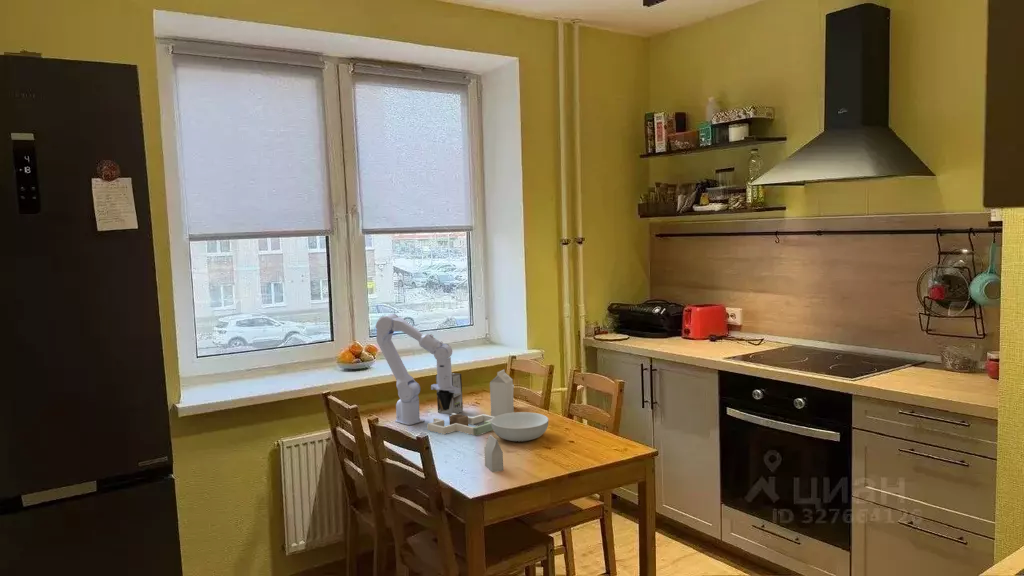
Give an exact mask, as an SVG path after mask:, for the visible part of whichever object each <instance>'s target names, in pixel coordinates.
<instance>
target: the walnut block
mask: <svg viewBox="0 0 1024 576" xmlns="http://www.w3.org/2000/svg"><path fill="white" fill-rule="evenodd" d="M448 417H449V419H448V420H449V425H451V424H454V423H458V424H462V425H466V426H469V424H468V417H469V416H468V415H464V414H461V413H457V414H455V415H452V416H451V415H449V416H448Z"/></svg>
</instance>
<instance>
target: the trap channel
mask: <svg viewBox="0 0 1024 576" xmlns="http://www.w3.org/2000/svg"><path fill="white" fill-rule="evenodd" d="M452 415H455V413H452V414H450V416H452ZM493 418H494V416H491V414H490V415H489V414H485V413H482V414H478V415H476V416H473V417H472V416H468V426H466V425H462V424H458V423H454V424H451V425H450V424H449V425H445V419H441V418H439V417H438V418H437V417H435V418H433V421H432V422H428V423H427V424H426V425H427V426H426V427H427V431H429V430H430V432H433V431H434V432H433V433H436V432H438V433H437V434H440V433H442V434H441V435H446V433H447V434H450V433H452V432H453V433H454V432H456V431H457V432H459V431H460V433H463V432H464V433H463V434H467V433H468V435H471V434H472V435H471V436H474V437H475V436H479V435H482V433H483V434H485V433H486V434H487V433H489V432H492V431H493V428H492V425H491V420H492V419H493ZM473 424H474V425H473ZM470 425H473V426H470ZM477 425H478V426H477Z"/></svg>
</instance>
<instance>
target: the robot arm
mask: <svg viewBox="0 0 1024 576" xmlns="http://www.w3.org/2000/svg"><path fill="white" fill-rule="evenodd" d="M376 321H377V322H376V324H375V329H376V342H377V344H378V346H379V347H378V348H380V350H381V352H382V354H383V356H384V358H385V361H386V362H387V365H388V366H389V369H390V370H391V372H392V375H393V376H394V378H395V380H396V389H397V395H398V398H399V399H398V400H397V402H396V403H395V411H396V412H395V415H396V416H395V417H396V419H395V420H394V422H396V423H399V424H403V425H407V426H411V425H414V424H415V425H416V424H418V423H423V422H425V419H422V418H421V415H420V398H419V395H420V392H421V386H420V384H419V383H418V382H417V381H416V380H415V378H414V377H413V376H412V375H410V374H409V372H408V370H407V368H406V366H405V364H404V362H403V360H402V358H401V356H400V354H399V352H398V351H397V348H396V346H395V345H394V343H393V340H392V338H393V336H394V333H395V332H402V333H404V334H406V335H408V336H409V337H410V338H412V339H414V340H415V341H417V342H418V345H419V347H421V348H422V349H424V350H426V351H427V353H430V354H432V355H433V356H434V357H433V358H434V359H435V360H436V375H437V382H438V384H436V383H433V384H430V390H432V391H434V390H435V391H436V397H437V396H438V397H439V399H440V401H441V404H442V407H443V410H448V409H449V406H450V402H451V399H452V396H453V394H454V393H455V394H458V393H460V388H457V387H454V386H452V373H453V372H452V360H451V359H452V355H453V349H452V347H451V346H450V345H449V344H448V343H444V342H443V341H439V339H437V338H435V337H434V335H433V334H432V333H431V334H429V333H424V334H423V333H422V332H421V331H420V330H419V329H417V328H415V327H414V325H411V324H410V323H409V322H408V321H406V320H405V319H404V318H403V317H400V316H398V314H396V313H388V314H387V315H382V316H381V317H379V318H378V319H377V320H376ZM437 390H439V392H437Z"/></svg>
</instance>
